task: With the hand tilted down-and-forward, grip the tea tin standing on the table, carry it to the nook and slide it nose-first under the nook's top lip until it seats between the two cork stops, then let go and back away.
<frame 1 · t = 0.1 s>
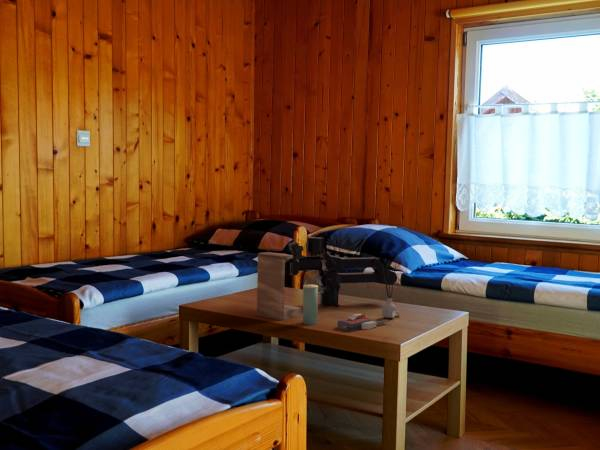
hand: (267, 264, 246), 17 cm above the table, tool horizontal, fingers open, 9 cm apart
reed diffuser: (387, 318, 234), on the table
nook: (279, 315, 234), on the table
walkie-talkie: (362, 327, 220), on the table
tea tin: (309, 323, 223), on the table
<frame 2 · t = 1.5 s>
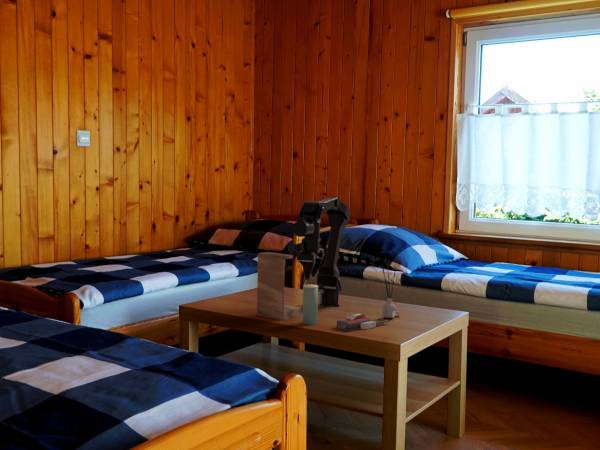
hand: (310, 278, 237), 13 cm above the table, tool pointing down, fingers open, 9 cm apart
nothing on the table moved.
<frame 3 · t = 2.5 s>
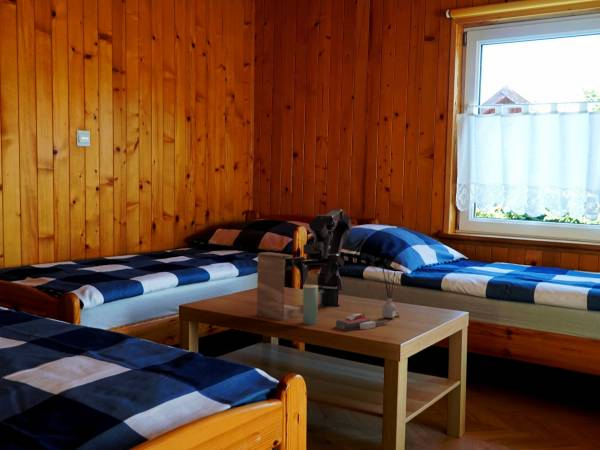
hand: (313, 283, 231), 12 cm above the table, tool tilted 35°, fingers open, 9 cm apart
nothing on the table moved.
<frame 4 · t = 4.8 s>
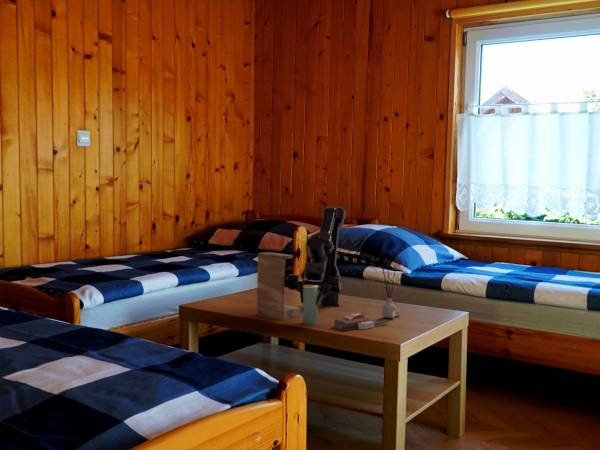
hand: (309, 303, 221), 7 cm above the table, tool tilted 45°, fingers closed on tea tin, 5 cm apart
tea tin: (309, 323, 223), on the table, touching gripper
everything else where it was.
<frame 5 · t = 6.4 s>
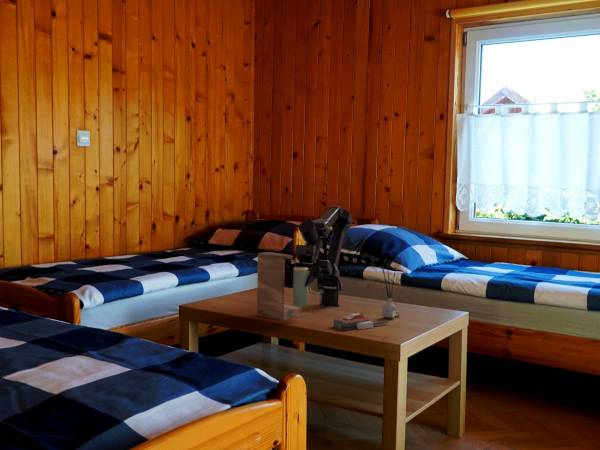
hand: (298, 285, 225), 12 cm above the table, tool tilted 45°, fingers closed on tea tin, 5 cm apart
tea tin: (300, 304, 227), point 5 cm above the table, touching gripper
everything else where it was.
when the fingers open (11 cm above the table, at t = 8.3 s): tea tin stays where it is, resting on nook.
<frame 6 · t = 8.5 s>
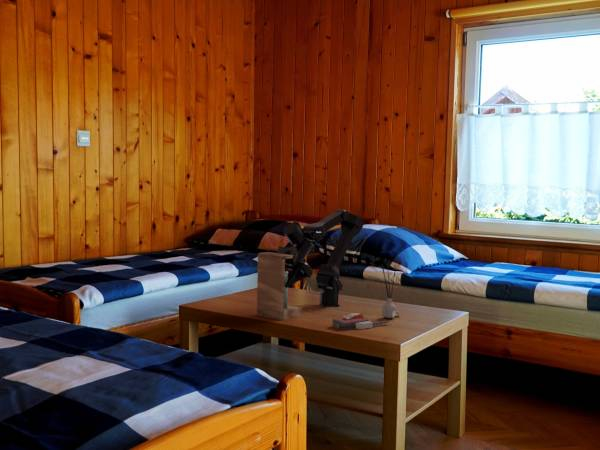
hand: (277, 285, 232), 11 cm above the table, tool tilted 45°, fingers open, 7 cm apart
tea tin: (280, 307, 234), point 3 cm above the table, touching nook
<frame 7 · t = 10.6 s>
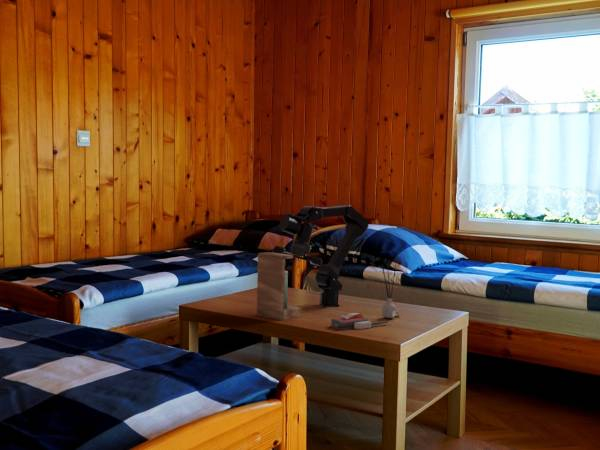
hand: (291, 278, 242), 12 cm above the table, tool tilted 20°, fingers open, 9 cm apart
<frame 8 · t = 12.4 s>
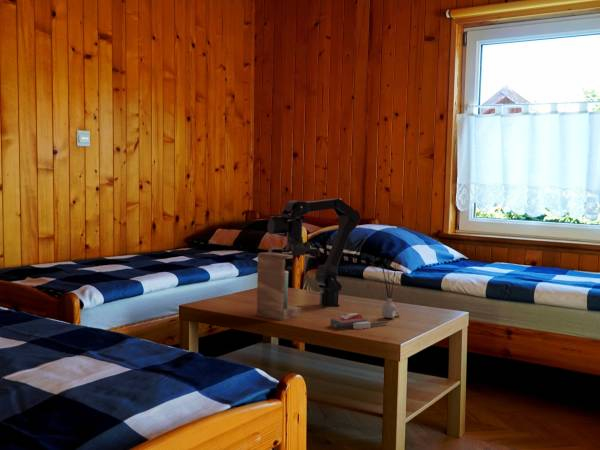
hand: (293, 274, 245), 13 cm above the table, tool pointing down, fingers open, 9 cm apart
at the end: tea tin 0.4 cm off-centre on the nook, point 3.0 cm above the nook's base; tea tin tilted 1°; the gripper is holding nothing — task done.
